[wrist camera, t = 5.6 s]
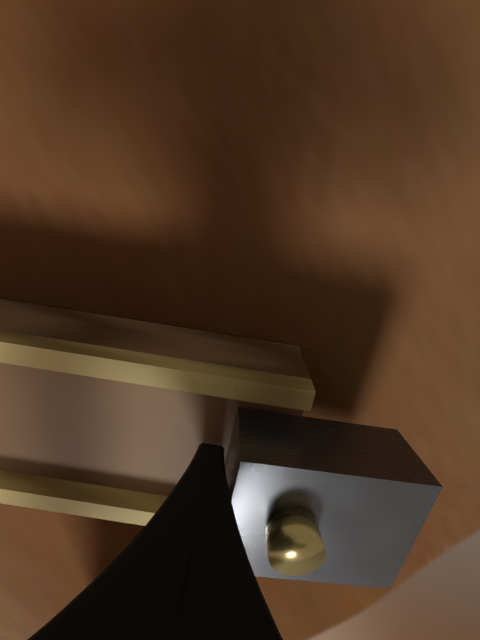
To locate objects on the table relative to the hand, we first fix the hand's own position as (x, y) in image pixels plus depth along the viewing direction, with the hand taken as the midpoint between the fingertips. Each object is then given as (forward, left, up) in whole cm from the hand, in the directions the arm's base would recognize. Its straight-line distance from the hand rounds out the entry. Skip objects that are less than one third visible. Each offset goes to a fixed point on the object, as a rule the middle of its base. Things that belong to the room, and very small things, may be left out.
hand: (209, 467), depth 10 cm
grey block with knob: (+4, 0, -1) cm, 4 cm away
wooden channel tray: (-6, 0, -4) cm, 7 cm away
